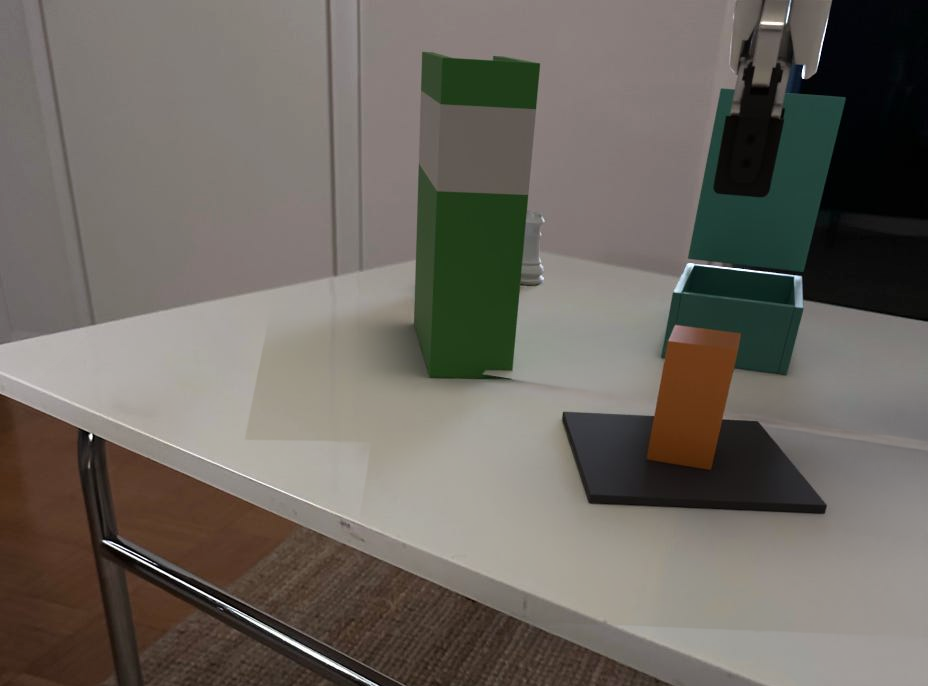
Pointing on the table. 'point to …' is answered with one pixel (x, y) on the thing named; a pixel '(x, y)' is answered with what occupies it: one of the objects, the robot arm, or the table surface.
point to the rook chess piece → (532, 250)
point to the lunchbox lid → (790, 197)
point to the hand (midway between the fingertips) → (743, 184)
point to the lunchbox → (741, 312)
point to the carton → (692, 396)
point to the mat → (686, 468)
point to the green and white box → (472, 210)
